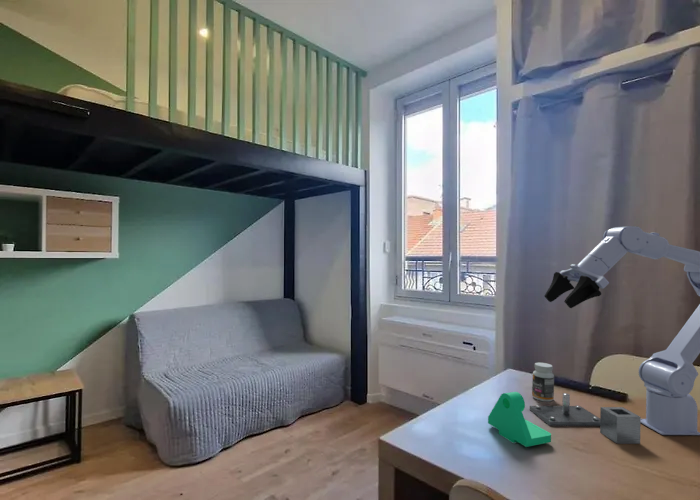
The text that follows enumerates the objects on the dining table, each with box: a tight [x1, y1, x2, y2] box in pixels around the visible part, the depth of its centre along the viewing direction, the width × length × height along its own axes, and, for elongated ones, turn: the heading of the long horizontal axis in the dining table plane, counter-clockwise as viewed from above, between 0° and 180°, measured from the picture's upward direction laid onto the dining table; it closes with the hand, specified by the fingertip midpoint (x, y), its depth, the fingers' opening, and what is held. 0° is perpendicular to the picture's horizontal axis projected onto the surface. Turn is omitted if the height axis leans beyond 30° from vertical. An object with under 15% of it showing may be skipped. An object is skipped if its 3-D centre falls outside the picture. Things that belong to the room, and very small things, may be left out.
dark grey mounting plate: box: [529, 392, 600, 427], centre depth 100 cm, size 14×10×6 cm
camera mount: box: [487, 391, 552, 448], centre depth 89 cm, size 12×8×10 cm, turn 20°
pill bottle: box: [531, 362, 555, 403], centre depth 113 cm, size 6×6×10 cm
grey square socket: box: [599, 406, 642, 445], centre depth 89 cm, size 5×5×6 cm
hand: (557, 301), depth 93 cm, fingers open, 7 cm apart
